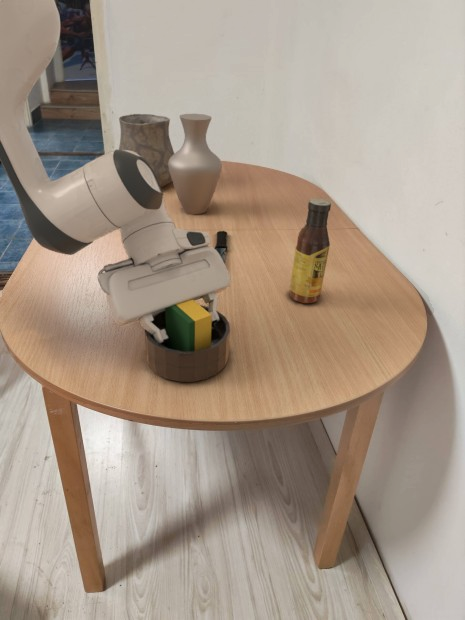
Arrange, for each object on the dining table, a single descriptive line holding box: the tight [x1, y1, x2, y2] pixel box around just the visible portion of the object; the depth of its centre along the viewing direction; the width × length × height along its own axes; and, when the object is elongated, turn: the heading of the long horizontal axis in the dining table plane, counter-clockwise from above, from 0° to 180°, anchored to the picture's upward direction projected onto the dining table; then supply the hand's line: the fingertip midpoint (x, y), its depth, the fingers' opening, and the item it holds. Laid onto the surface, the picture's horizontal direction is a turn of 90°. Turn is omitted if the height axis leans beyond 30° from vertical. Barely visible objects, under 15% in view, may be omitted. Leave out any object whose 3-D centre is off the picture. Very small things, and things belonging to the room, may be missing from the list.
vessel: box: [118, 113, 175, 188], centre depth 141 cm, size 22×22×20 cm
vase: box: [168, 113, 223, 215], centre depth 122 cm, size 14×14×25 cm
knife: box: [214, 230, 228, 265], centre depth 106 cm, size 21×1×3 cm
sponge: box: [165, 299, 212, 351], centre depth 71 cm, size 4×7×9 cm, turn 37°
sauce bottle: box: [289, 197, 332, 304], centre depth 86 cm, size 6×6×20 cm
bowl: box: [143, 304, 231, 383], centre depth 72 cm, size 13×13×6 cm
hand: (189, 332), depth 71 cm, fingers open, 8 cm apart
